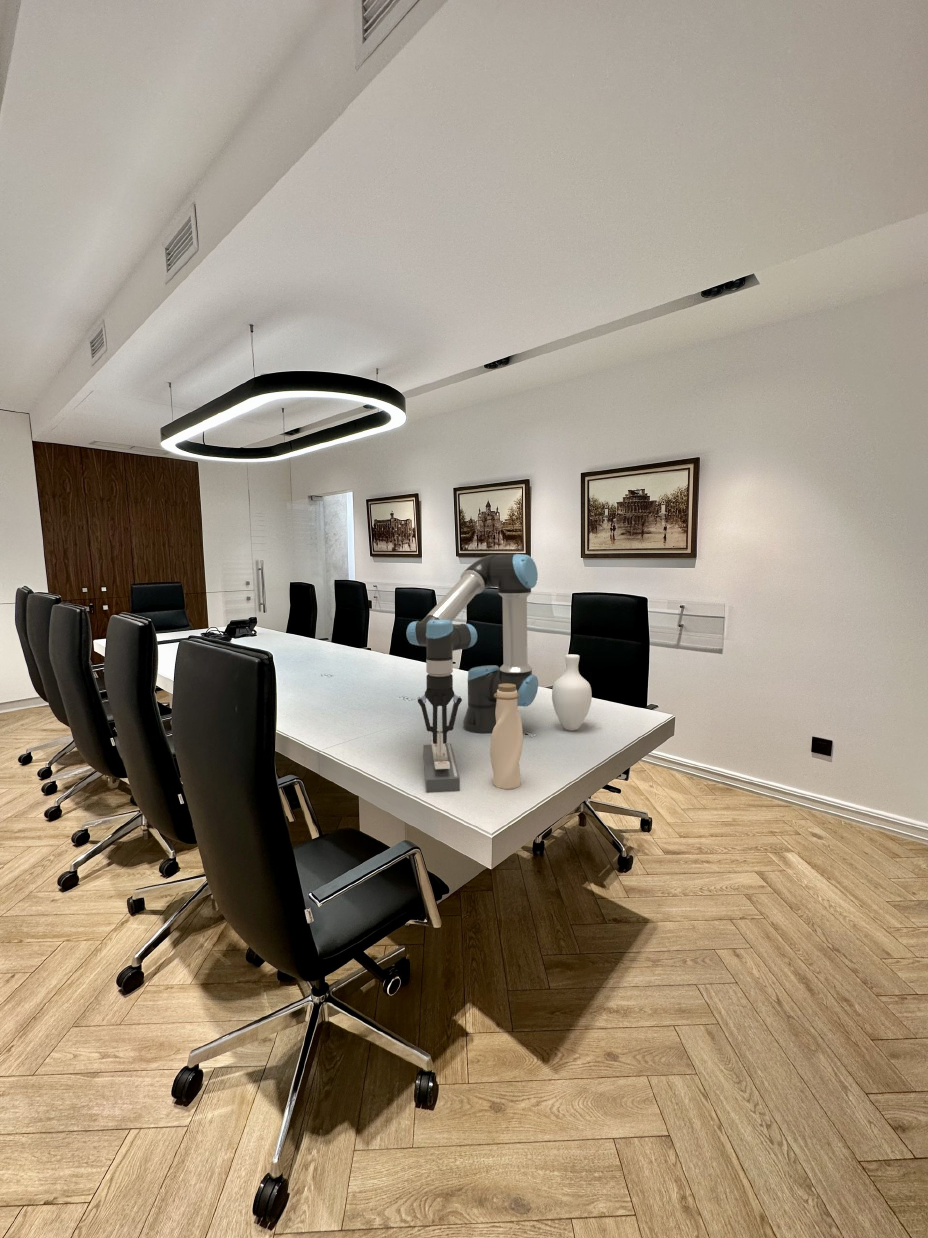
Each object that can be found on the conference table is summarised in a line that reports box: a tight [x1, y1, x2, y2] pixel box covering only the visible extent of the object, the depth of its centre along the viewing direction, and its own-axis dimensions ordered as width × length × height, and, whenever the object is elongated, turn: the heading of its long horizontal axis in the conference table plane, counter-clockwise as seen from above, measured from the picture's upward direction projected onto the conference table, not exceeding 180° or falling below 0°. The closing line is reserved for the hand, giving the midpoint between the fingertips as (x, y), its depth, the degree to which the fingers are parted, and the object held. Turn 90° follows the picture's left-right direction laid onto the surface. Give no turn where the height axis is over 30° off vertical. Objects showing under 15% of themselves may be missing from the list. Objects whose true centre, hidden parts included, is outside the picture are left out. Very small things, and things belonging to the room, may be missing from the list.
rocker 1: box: [430, 734, 446, 752], centre depth 164 cm, size 4×7×2 cm, turn 6°
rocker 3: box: [434, 761, 450, 769], centre depth 146 cm, size 4×7×2 cm, turn 6°
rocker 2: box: [433, 746, 447, 761], centre depth 155 cm, size 4×7×2 cm, turn 6°
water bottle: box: [489, 683, 524, 790], centre depth 146 cm, size 10×9×28 cm
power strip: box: [422, 743, 461, 793], centre depth 159 cm, size 9×37×4 cm, turn 6°
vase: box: [551, 653, 593, 732], centre depth 193 cm, size 14×14×28 cm
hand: (439, 754), depth 151 cm, fingers closed
